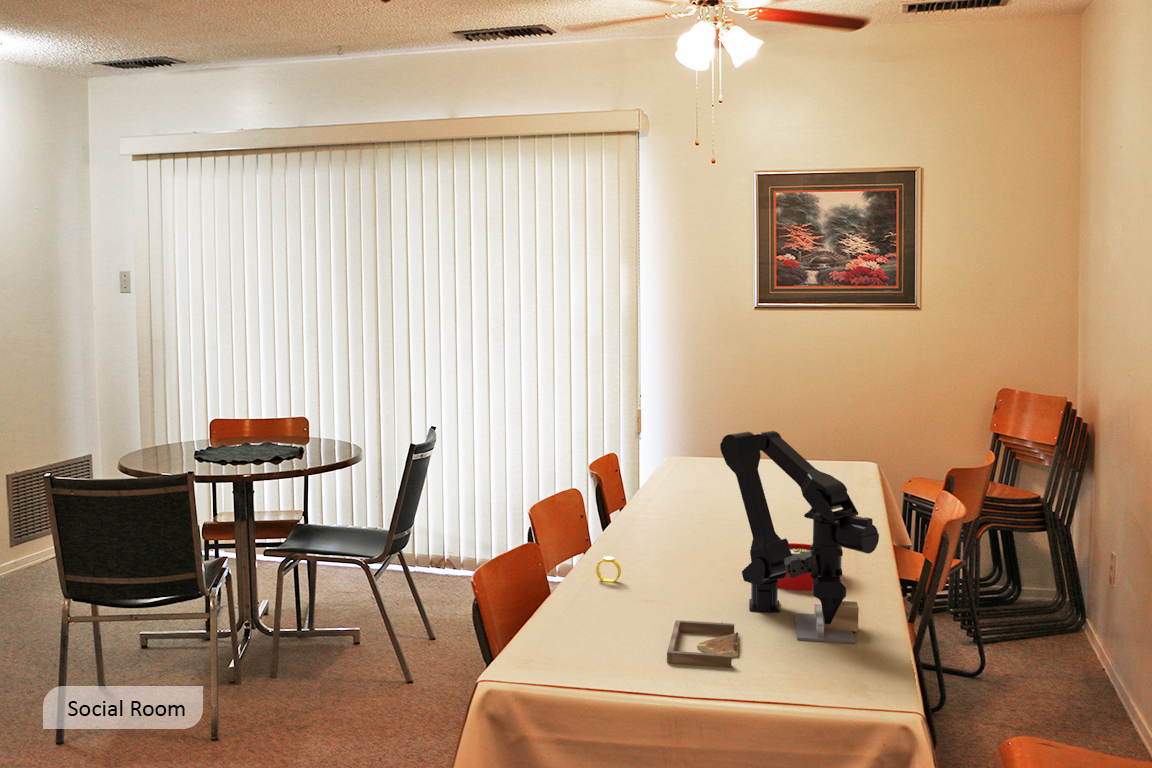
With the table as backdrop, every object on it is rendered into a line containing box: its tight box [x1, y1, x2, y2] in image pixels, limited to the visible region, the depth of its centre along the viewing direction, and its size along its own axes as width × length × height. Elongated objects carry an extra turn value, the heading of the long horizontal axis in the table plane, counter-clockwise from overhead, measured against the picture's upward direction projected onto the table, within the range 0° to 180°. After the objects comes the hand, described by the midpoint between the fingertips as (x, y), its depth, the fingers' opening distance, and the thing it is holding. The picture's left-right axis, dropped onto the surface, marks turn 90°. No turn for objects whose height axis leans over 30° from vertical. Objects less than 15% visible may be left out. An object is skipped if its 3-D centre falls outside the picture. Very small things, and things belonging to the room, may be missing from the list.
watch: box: [595, 555, 622, 583], centre depth 218 cm, size 6×3×6 cm, turn 69°
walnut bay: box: [666, 619, 735, 668], centre depth 177 cm, size 17×12×2 cm
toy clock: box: [778, 542, 814, 592], centre depth 219 cm, size 20×6×20 cm
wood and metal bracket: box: [813, 600, 860, 637], centre depth 185 cm, size 12×8×5 cm
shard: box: [696, 631, 739, 658], centre depth 176 cm, size 11×8×2 cm
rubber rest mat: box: [794, 612, 856, 644], centre depth 186 cm, size 14×11×1 cm
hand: (826, 616), depth 185 cm, fingers open, 8 cm apart
